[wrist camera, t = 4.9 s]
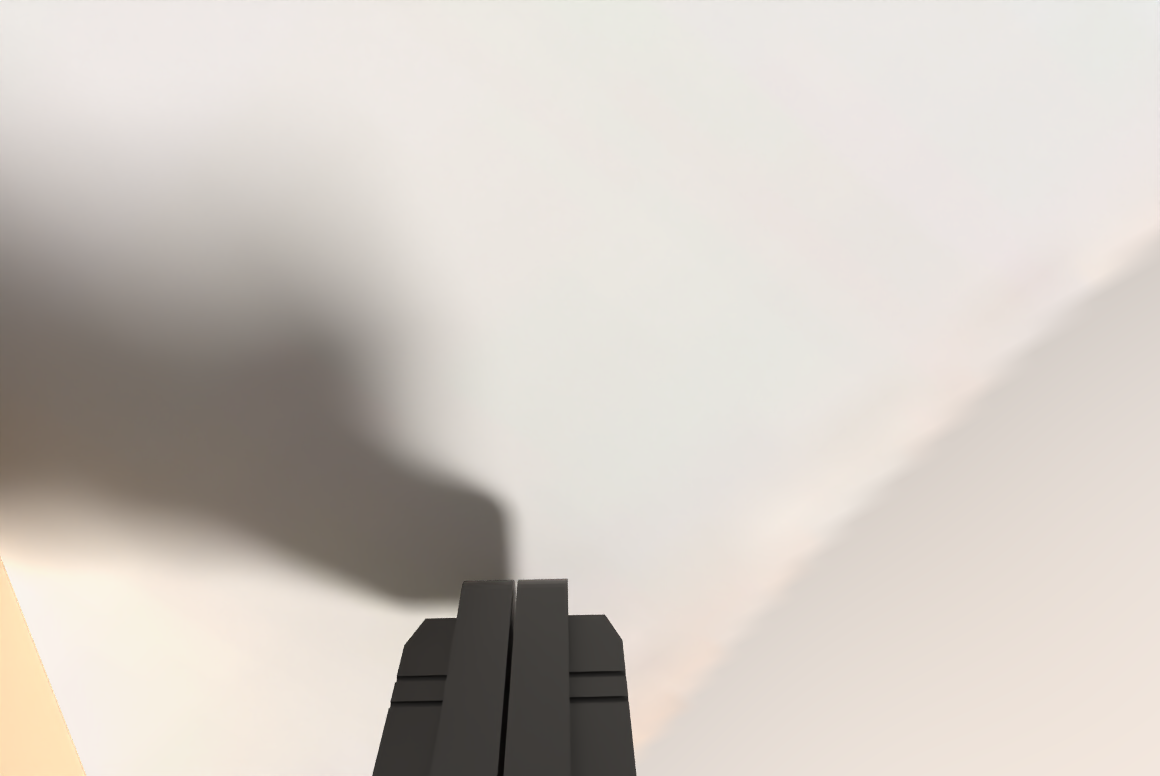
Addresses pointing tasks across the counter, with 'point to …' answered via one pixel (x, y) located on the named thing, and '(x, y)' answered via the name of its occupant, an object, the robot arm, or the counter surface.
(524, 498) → the counter surface
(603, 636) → the robot arm
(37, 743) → the kraft carton
